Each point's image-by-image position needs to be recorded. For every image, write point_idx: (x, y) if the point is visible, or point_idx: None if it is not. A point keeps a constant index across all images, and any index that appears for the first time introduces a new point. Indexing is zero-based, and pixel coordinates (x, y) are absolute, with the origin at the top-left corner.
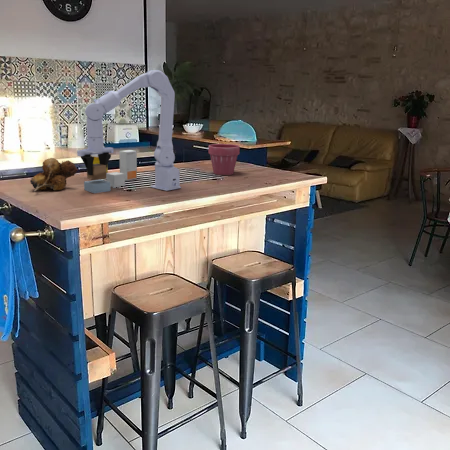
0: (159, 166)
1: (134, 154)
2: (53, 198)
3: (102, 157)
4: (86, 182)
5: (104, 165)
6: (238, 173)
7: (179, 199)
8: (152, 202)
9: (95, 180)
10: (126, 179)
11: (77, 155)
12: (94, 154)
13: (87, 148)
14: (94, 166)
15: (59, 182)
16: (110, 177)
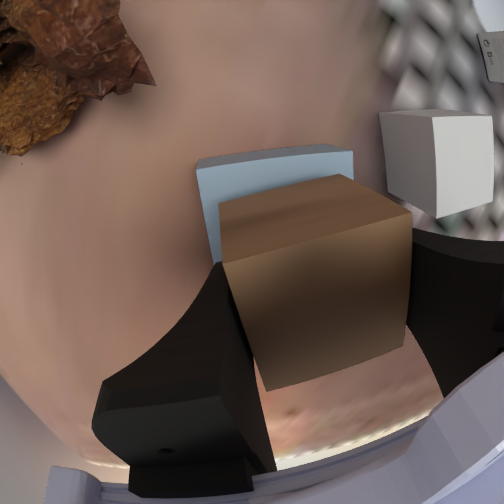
0: None
1: None
2: (22, 294)
3: (461, 348)
4: (203, 211)
5: (387, 350)
6: None
7: (404, 414)
8: (335, 432)
9: (301, 166)
10: (493, 81)
11: (52, 470)
12: (357, 459)
13: (454, 475)
14: (270, 384)
15: (21, 153)
16: (421, 167)
